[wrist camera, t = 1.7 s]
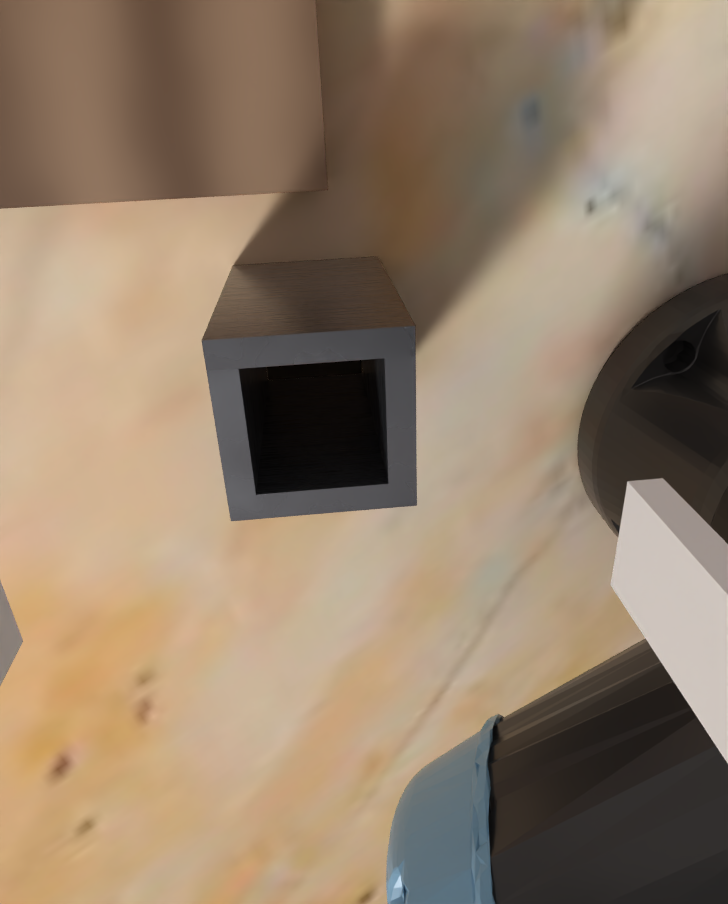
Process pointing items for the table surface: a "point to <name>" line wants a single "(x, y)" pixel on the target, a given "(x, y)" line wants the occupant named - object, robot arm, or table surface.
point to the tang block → (158, 100)
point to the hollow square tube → (313, 389)
